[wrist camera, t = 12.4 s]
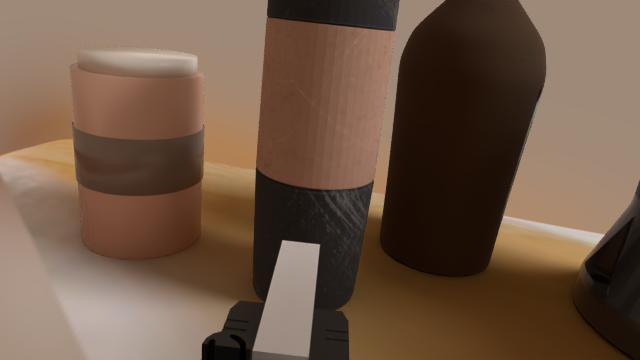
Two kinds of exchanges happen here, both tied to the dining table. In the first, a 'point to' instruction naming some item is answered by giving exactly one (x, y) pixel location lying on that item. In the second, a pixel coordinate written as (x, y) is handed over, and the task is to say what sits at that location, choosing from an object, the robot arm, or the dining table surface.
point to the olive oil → (459, 133)
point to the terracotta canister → (138, 149)
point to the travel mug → (320, 134)
